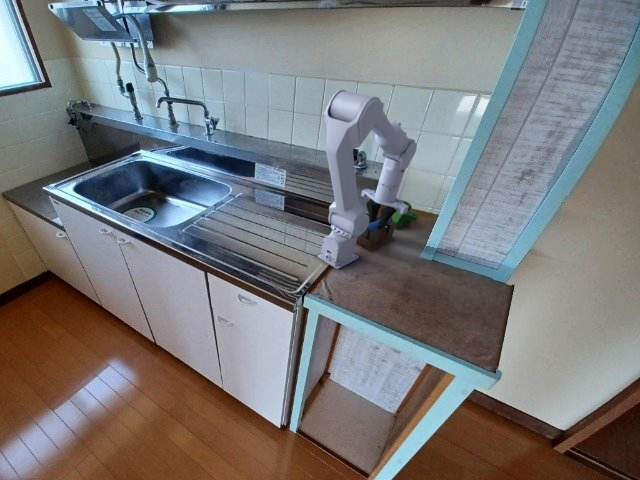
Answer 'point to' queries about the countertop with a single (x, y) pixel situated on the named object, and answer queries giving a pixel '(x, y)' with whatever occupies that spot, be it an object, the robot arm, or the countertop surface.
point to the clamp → (404, 216)
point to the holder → (377, 236)
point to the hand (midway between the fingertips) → (376, 225)
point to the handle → (374, 226)
